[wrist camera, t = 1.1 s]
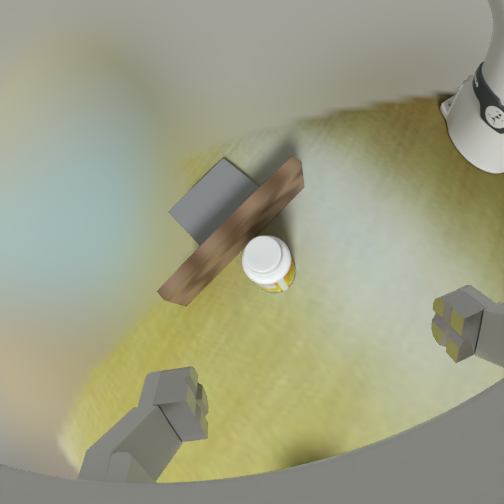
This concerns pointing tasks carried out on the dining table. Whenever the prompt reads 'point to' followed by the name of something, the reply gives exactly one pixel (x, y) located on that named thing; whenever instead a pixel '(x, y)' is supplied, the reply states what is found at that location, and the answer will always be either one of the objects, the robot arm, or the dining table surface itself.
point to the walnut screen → (234, 234)
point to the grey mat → (213, 200)
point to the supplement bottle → (269, 264)
